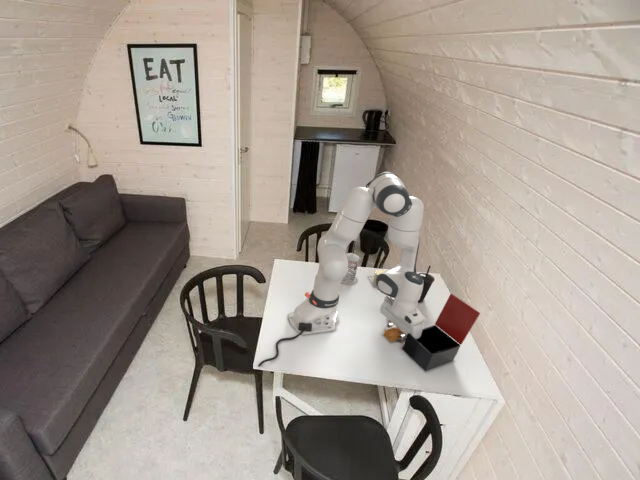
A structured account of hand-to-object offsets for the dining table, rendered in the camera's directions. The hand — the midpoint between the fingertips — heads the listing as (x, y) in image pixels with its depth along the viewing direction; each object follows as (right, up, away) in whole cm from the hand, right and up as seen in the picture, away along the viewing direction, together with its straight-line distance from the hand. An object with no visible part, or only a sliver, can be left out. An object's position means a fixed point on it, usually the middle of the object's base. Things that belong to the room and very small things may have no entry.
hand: (395, 332), depth 153 cm
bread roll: (0, -2, +1) cm, 2 cm away
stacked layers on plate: (+7, +20, +35) cm, 41 cm away
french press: (-11, +22, +37) cm, 44 cm away
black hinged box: (+9, -8, -8) cm, 15 cm away
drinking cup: (+21, +12, +22) cm, 33 cm away
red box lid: (+17, +8, -15) cm, 24 cm away
